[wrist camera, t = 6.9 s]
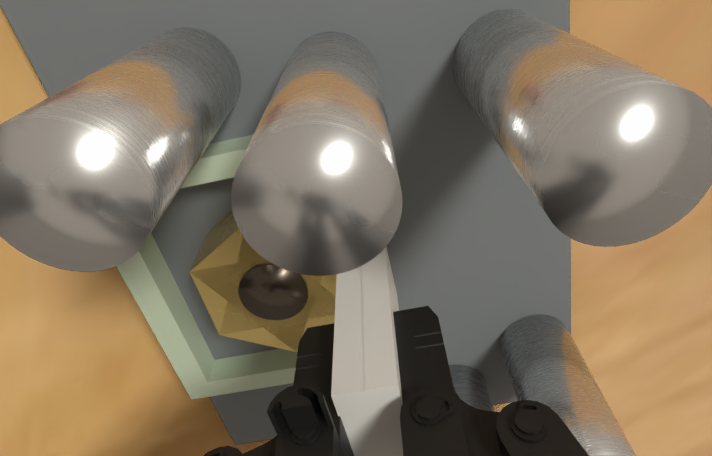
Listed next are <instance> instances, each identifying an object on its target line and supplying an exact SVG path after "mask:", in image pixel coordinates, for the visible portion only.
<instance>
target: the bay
mask: <svg viewBox="0 0 712 456" xmlns="http://www.w3.org/2000/svg"><path fill="white" fill-rule="evenodd" d="M253 135H254V134H253ZM253 135H249V136H244V137H240V138H235V139H231V140H226V141H221V142H217V143H212V144H209V145H208V146H207V148H206V150H205V151H204V153H203V154H202V156H201V157H200V159H199V160H198V162H197V163H196V165H195V166H194V168H193V169H192V171H191V172H190V174H189V175H188V177H187V178H186V180H185V181H184V183H183V184H182V186H181V188H185V187H190V186H195V185H199V184H204V183H209V182H214V181H218V180H223V179H228V178H233V177H235V173H236V171H237V169H238V167H239V165H240V163H241V161H242V158H243V156H244V154H245V152H246V150H247V148H248V146H249V144H250V141H251V139H252V137H253ZM116 267H117V269H118V270H119V272H120V274H121V276H122V277H123V279H124V281H125V283H126V285H127V286H128V288H129V290H130V292H131V293H132V295H133V297H134V299H135V301H136V302H137V304H138V306H139V308H140V309H141V311H142V313H143V315H144V317H145V318H146V320H147V322H148V324H149V325H150V327H151V329H152V331H153V332H154V334H155V336H156V338H157V340H158V341H159V343H160V345H161V347H162V348H163V350H164V352H165V354H166V356H167V357H168V359H169V361H170V363H171V364H172V366H173V368H174V370H175V372H176V373H177V375H178V377H179V379H180V380H181V382H182V384H183V386H184V387H185V389H186V391H187V393H188V395H189V396H190V398H191V400H193V399H199V398H205V397H211V396H217V395H223V394H229V393H235V392H241V391H247V390H253V389H259V388H265V387H272V386H278V385H284V384H290V383H294V375H295V371H296V360H297V352H298V351H297V352H293V351H289V350H284V349H275V350H269V351H263V352H258V353H252V354H246V355H240V356H234V357H229V358H223V359H217V360H214V358H213V356H212V354H211V352H210V350H209V348H208V346H207V344H206V342H205V340H204V338H203V336H202V334H201V332H200V330H199V328H198V326H197V324H196V322H195V320H194V318H193V316H192V314H191V312H190V310H189V308H188V306H187V304H186V302H185V300H184V298H183V296H182V294H181V292H180V290H179V288H178V286H177V284H176V282H175V280H174V278H173V276H172V274H171V272H170V270H169V268H168V266H167V264H166V262H165V260H164V258H163V256H162V254H161V252H160V250H159V248H158V246H157V244H156V242H155V240H154V238H153V236H152V234H151V233H150V235H149V236H148V238H147V239H146V241H145V242H144V244H143V245H142V247H141V248H140V249H139V250H138V252H137V253H136V254H135V255H134V256H132V257H131V258H130V259H129V260H127V261H125V262H124V263H122V264H120V265H118V266H116Z"/></svg>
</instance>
